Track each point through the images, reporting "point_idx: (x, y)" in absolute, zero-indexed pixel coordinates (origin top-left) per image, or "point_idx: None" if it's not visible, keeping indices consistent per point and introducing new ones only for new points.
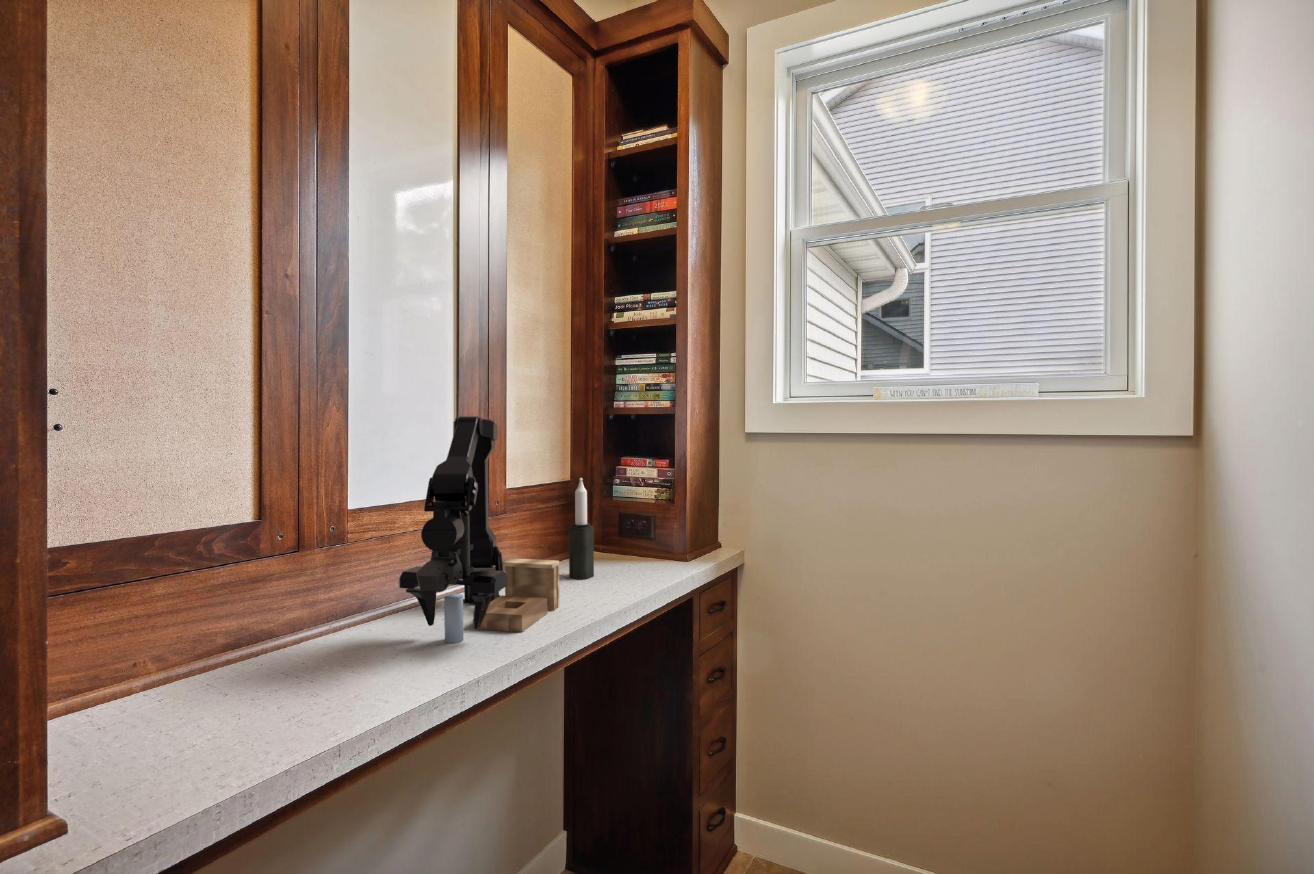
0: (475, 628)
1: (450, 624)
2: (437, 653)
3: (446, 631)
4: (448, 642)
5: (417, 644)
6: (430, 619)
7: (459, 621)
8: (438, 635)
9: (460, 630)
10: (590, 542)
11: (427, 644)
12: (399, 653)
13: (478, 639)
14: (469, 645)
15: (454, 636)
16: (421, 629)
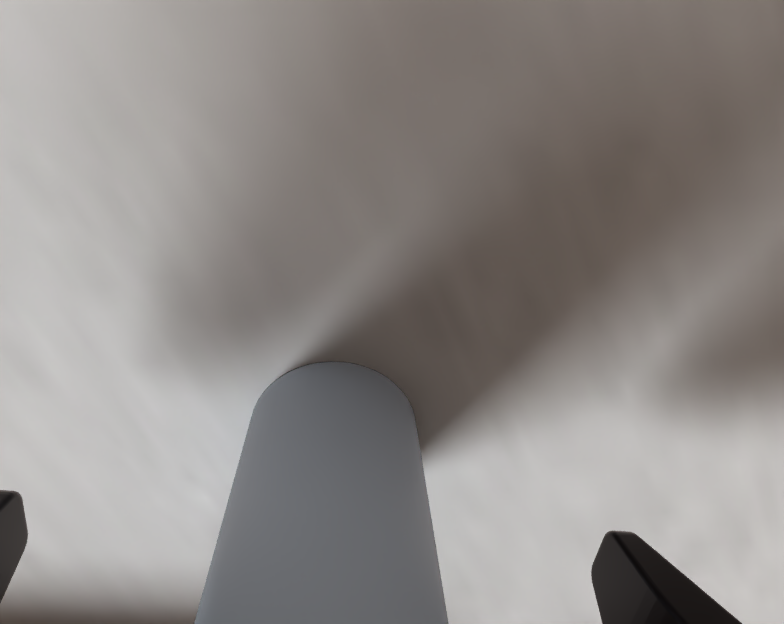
0: (3, 494)
1: (317, 495)
2: (334, 59)
3: (381, 442)
4: (352, 367)
5: (643, 309)
6: (641, 593)
7: (214, 567)
8: (523, 521)
9: (233, 484)
10: None
11: (546, 318)
12: (774, 22)
13: (125, 479)
14: (114, 332)
15: (287, 408)
16: None
